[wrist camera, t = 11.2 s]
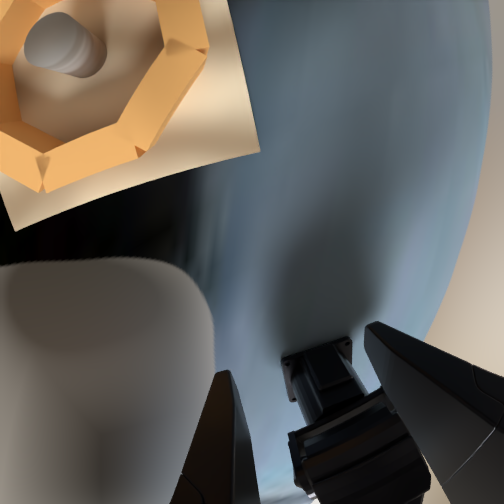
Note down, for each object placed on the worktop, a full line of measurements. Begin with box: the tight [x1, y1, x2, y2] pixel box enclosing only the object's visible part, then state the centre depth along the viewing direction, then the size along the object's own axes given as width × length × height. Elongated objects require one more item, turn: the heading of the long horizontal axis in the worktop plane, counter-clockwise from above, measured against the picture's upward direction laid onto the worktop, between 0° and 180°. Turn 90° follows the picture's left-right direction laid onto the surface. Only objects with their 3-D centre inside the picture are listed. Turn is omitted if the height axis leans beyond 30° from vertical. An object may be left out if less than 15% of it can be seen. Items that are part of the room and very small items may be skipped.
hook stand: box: [0, 0, 260, 231], centre depth 10 cm, size 16×16×6 cm
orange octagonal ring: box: [0, 0, 210, 193], centre depth 10 cm, size 13×13×4 cm
